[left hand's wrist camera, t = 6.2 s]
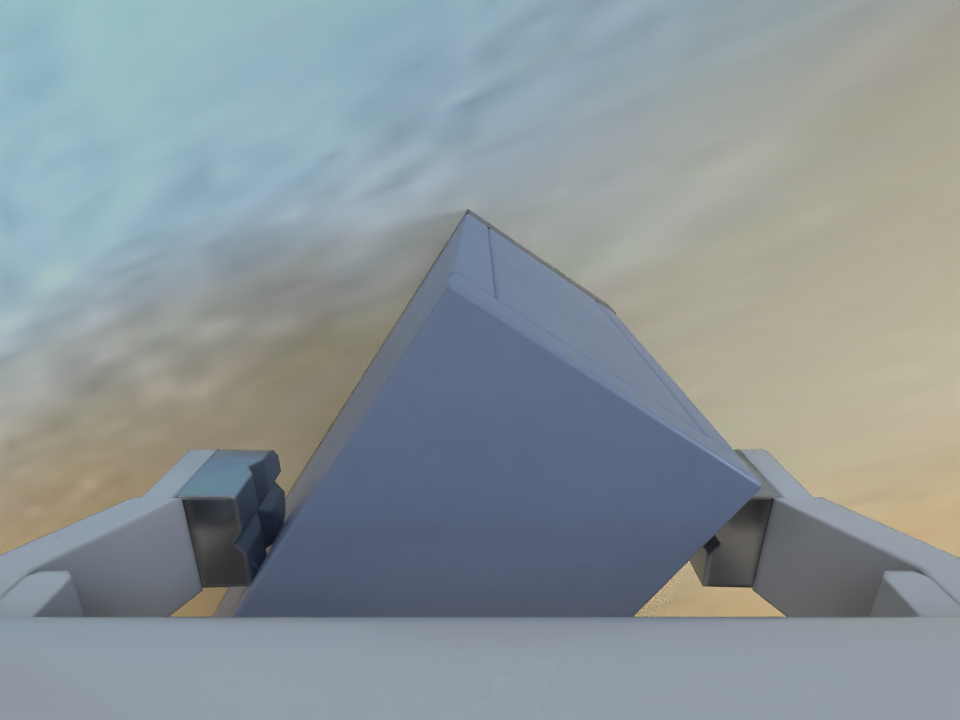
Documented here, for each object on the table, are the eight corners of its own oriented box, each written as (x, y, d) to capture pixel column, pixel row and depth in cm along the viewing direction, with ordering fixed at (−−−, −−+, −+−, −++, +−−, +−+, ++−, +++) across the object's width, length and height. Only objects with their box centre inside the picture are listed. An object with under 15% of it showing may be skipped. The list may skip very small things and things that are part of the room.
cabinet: (348, 643, 22) (250, 1002, 13) (228, 587, 21) (25, 933, 12) (609, 305, 17) (767, 486, 8) (468, 209, 16) (449, 280, 7)
